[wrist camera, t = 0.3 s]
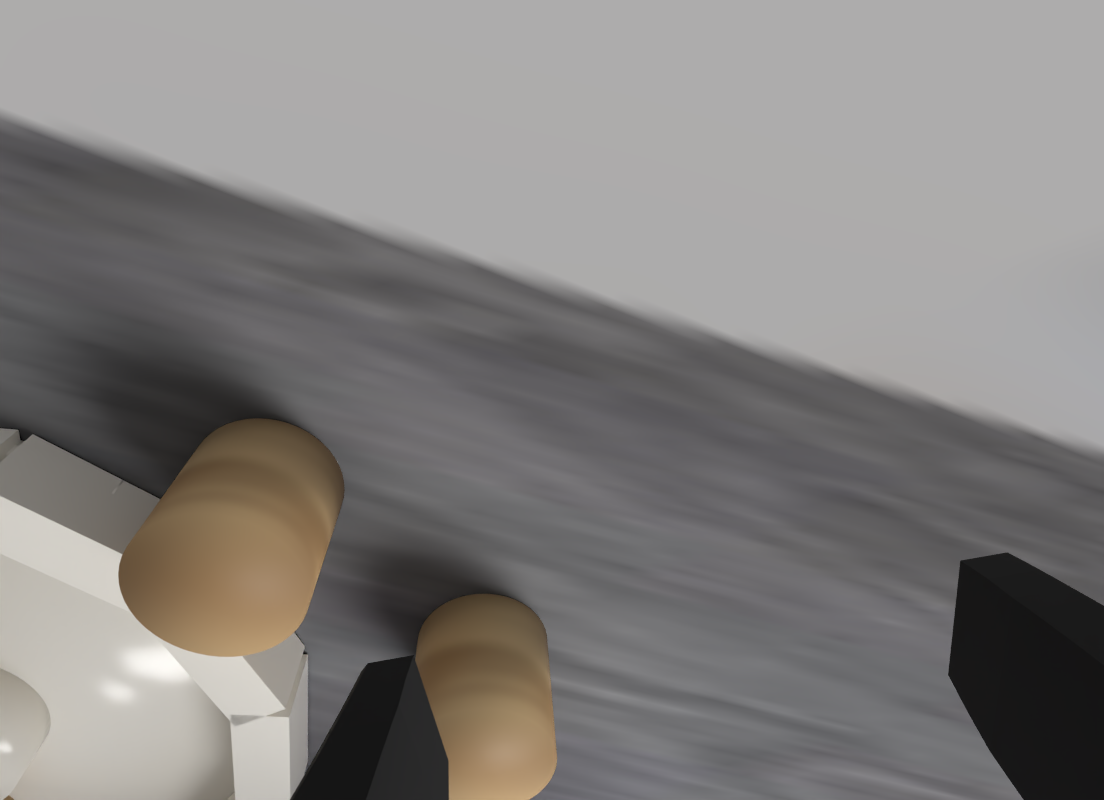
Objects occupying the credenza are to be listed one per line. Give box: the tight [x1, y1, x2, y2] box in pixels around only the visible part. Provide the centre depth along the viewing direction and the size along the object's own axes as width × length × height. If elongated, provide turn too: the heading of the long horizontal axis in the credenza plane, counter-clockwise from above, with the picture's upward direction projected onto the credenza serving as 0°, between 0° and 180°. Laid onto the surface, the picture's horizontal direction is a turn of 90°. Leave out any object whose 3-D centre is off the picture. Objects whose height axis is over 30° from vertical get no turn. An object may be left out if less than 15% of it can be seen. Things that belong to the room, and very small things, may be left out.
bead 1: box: [118, 418, 344, 657], centre depth 17 cm, size 4×4×4 cm
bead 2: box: [415, 594, 557, 800], centre depth 20 cm, size 4×4×4 cm
